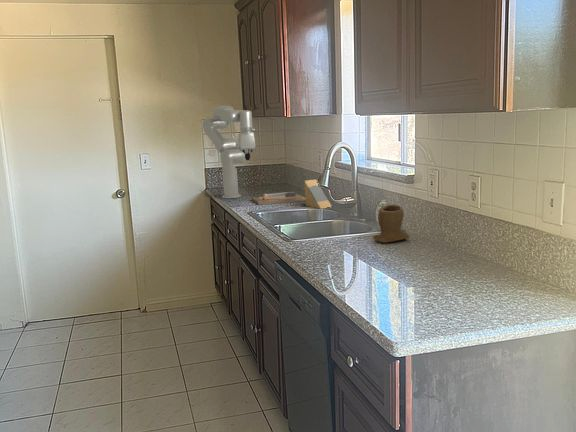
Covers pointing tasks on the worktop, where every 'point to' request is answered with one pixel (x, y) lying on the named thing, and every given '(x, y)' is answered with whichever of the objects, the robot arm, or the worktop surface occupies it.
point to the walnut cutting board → (278, 199)
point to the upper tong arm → (279, 194)
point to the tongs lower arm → (279, 196)
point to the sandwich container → (315, 195)
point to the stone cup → (391, 224)
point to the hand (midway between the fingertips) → (247, 160)
